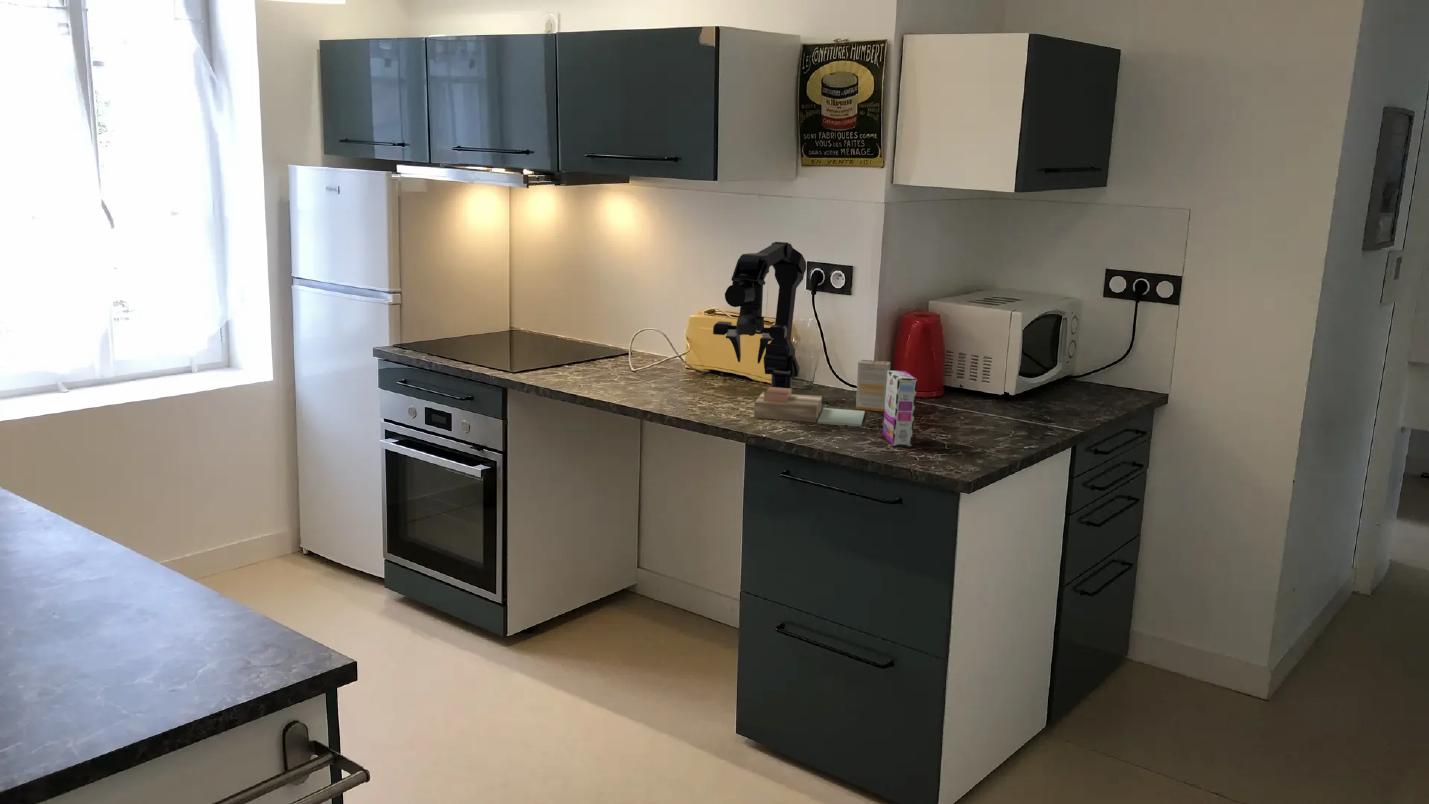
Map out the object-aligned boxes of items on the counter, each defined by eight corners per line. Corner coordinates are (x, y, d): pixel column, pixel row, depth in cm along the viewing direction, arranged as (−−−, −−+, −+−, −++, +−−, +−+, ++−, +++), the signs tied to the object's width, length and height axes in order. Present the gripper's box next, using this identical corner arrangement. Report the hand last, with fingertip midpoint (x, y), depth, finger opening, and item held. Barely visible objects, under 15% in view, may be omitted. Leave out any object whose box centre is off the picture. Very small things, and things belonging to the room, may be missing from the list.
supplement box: (888, 409, 303) (891, 361, 300) (885, 412, 298) (888, 364, 296) (858, 405, 305) (861, 358, 303) (854, 409, 301) (857, 361, 298)
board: (762, 406, 300) (762, 391, 300) (821, 410, 297) (822, 396, 297) (754, 417, 287) (754, 402, 286) (815, 422, 284) (816, 407, 283)
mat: (823, 410, 298) (823, 408, 298) (864, 413, 296) (864, 411, 296) (817, 423, 283) (817, 421, 283) (860, 426, 281) (861, 424, 281)
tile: (768, 394, 297) (769, 386, 296) (791, 395, 296) (791, 388, 295) (763, 401, 288) (764, 393, 288) (786, 402, 287) (787, 395, 287)
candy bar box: (913, 447, 263) (918, 378, 259) (892, 446, 262) (897, 378, 259) (901, 435, 273) (906, 369, 270) (881, 435, 273) (886, 369, 270)
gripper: (709, 304, 282) (707, 365, 285) (782, 309, 279) (779, 370, 282) (718, 299, 293) (716, 358, 296) (788, 304, 289) (785, 363, 293)
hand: (748, 362), depth 291 cm, fingers open, 5 cm apart
